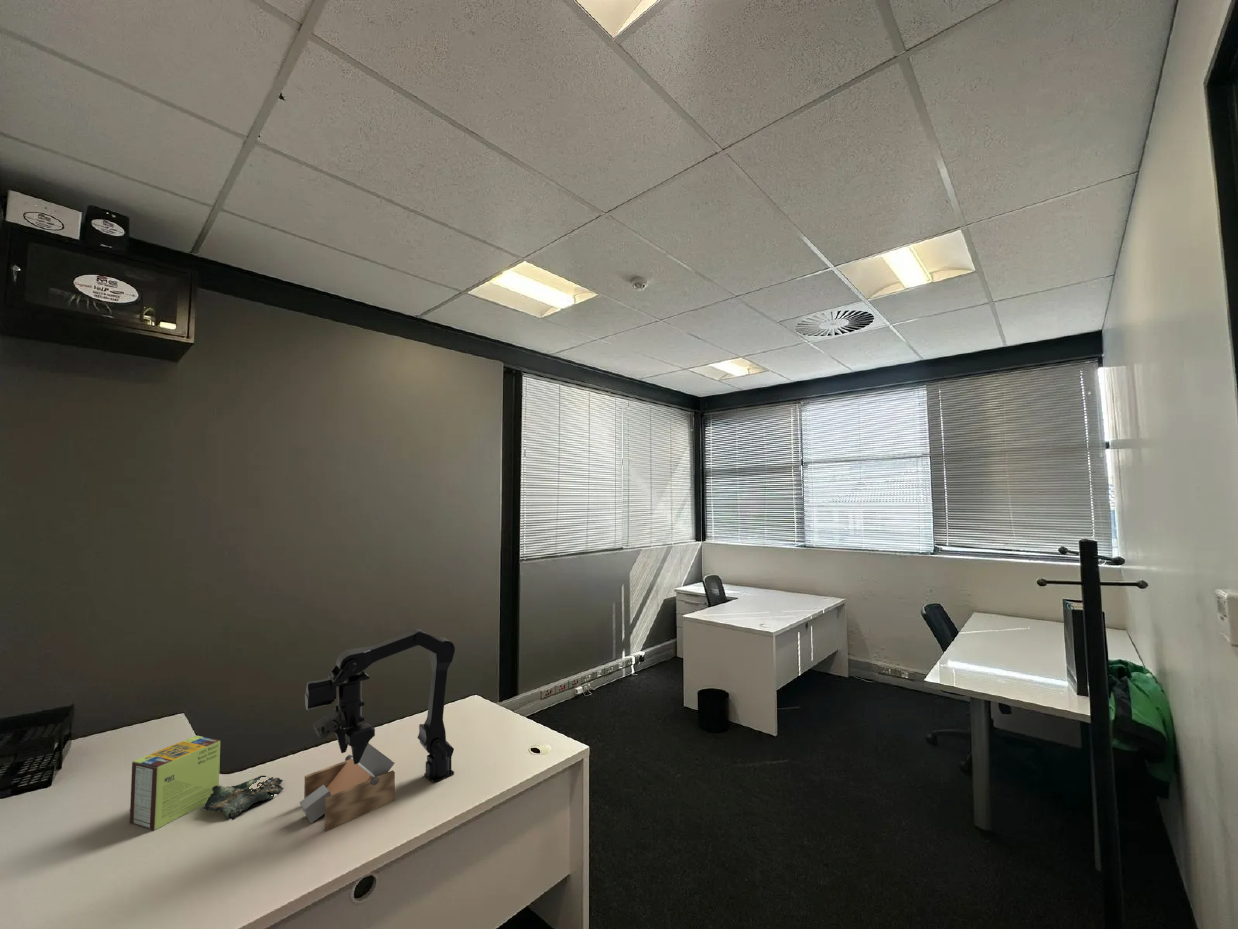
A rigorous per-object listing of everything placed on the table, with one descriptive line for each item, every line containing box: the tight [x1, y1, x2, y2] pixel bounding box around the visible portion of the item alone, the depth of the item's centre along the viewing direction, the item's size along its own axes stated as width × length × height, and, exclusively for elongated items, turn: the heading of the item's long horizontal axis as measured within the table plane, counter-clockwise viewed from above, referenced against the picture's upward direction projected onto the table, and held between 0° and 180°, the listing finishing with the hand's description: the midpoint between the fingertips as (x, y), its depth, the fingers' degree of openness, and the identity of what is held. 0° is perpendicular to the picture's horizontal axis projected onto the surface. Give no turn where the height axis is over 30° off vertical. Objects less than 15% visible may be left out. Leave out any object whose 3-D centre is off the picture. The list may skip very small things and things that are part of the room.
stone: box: [299, 785, 331, 824], centre depth 132 cm, size 4×4×6 cm
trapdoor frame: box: [303, 754, 396, 832], centre depth 138 cm, size 17×18×8 cm
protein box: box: [129, 735, 221, 831], centre depth 137 cm, size 10×15×16 cm
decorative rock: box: [202, 775, 285, 821], centre depth 141 cm, size 19×6×15 cm
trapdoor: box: [327, 743, 396, 795], centre depth 140 cm, size 15×14×4 cm
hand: (349, 758), depth 137 cm, fingers open, 9 cm apart
